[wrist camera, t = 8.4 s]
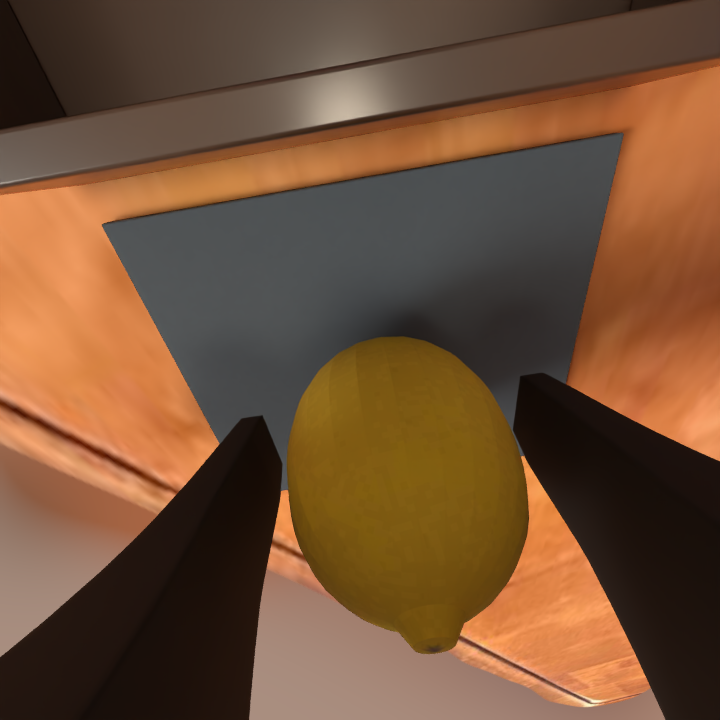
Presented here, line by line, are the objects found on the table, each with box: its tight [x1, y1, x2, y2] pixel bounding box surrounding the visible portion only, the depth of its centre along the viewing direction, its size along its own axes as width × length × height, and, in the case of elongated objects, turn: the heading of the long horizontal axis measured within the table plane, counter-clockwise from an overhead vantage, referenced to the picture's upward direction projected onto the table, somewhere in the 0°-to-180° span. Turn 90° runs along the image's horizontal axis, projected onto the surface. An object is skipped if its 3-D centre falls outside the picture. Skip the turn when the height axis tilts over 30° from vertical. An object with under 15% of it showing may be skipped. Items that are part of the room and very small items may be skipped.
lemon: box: [287, 336, 529, 654], centre depth 8 cm, size 6×6×8 cm
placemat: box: [102, 133, 624, 491], centre depth 12 cm, size 14×12×1 cm
